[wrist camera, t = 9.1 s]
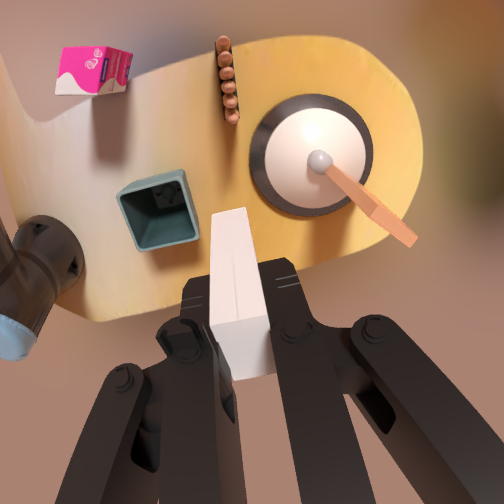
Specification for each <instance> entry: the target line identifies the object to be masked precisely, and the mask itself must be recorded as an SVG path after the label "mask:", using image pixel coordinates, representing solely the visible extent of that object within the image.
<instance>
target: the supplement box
mask: <svg viewBox="0 0 504 504" xmlns="http://www.w3.org/2000/svg"><path fill="white" fill-rule="evenodd" d="M132 56H133V54H132V53H128V52H125V51H121V50H118V49H114V48H111V47H107V46H85V47H84V46H81V47H64V48H63V49H62V54H61V59H60V64H59V69H58V76H57V83H56V90H55V95H56V96H64V95H65V96H67V95H103V94H109V93H116V92H125V91H126V86H127V79H128V74H129V69H130V65H131V60H132Z"/></svg>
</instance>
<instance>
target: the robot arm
mask: <svg viewBox="0 0 504 504" xmlns="http://www.w3.org/2000/svg"><path fill="white" fill-rule="evenodd" d="M83 265H84V257H83V252H82V249H81V246H80V244H79V242H78V240H77V238H76V237H75V235H74V234H73V233H72V231H71V230H70V229H69V228H68V227H67V226H66V225H64V224H63V223H62V222H60V221H59V220H57V219H55V218H53V217H50V216H45V215H37V216H33V217H31V218H29V219H28V220H26V221H25V222H24V223H23V224H22V225H21V226H20V228H19V229H18V230H17V232H16V234H15V237H14V240H13V243H11V241H10V239H9V237H8V234H7V232H6V230H5V227H4V225H3V223H2V220H1V218H0V358H1V359H4V360H8V361H21V360H23V359H25V358H26V357H27V356H28V354H29V352H30V350H31V348H32V347H33V345H34V344H35V343H36V341H37V337H38V335H39V333H40V331H41V328H42V326H43V324H44V322H45V320H46V318H47V316H48V314H49V312H50V310H51V308H52V306H53V304H54V302H55V300H56V298H58V297H59V296H60V295H62V294H63V293H64V292H65V291H67V290H68V289H69V288H71V287H72V286H73V285H74V284H75V283H76V281H77V280H78V278H79V276H80V274H81V272H82V270H83ZM156 339H157V341H158V343H159V344H160V346H161V347H162V349H163V351H164V352H165V354H166V355H167V358H166V359H165V360H163V361H161V362H160V363H158V364H155V365H153V366H151V367H148V368H146V369H143V370H141V368H140V367H139V366H137V365H135V364H132V363H126V364H122V365H119V366H117V367H115V368H114V369H113V370H112V371H110V373H109V374H108V375H107V377H106V379H105V381H104V383H103V385H102V387H101V390H100V391H99V394H98V396H97V398H96V400H95V403H94V405H93V407H92V409H91V412H90V414H89V416H88V418H87V421H86V423H85V425H84V428H83V430H82V433H81V435H80V437H79V440H78V442H77V445H76V448H75V450H74V452H73V455H72V457H71V460H70V463H69V465H68V468H67V471H66V473H65V476H64V479H63V481H62V484H61V487H60V490H59V493H58V496H57V499H56V502H55V504H157V502H158V499H159V504H247V497H246V488H245V480H244V471H243V462H242V453H241V443H240V433H239V422H238V412H237V401H236V394H235V391H234V389H233V387H232V380H231V375H232V377H233V379H234V380H242V379H247V378H253V377H258V376H263V375H268V374H273V373H277V375H278V381H279V386H280V392H281V397H282V402H283V407H284V413H285V418H286V423H287V428H288V434H289V439H290V444H291V449H292V455H293V460H294V465H295V471H296V476H297V481H298V486H299V492H300V497H301V502H302V504H376V501H375V498H374V494H373V491H372V487H371V484H370V480H369V477H368V473H367V470H366V466H365V463H364V460H363V456H362V453H361V450H360V447H359V443H358V440H357V437H356V434H355V431H354V427H353V424H352V421H351V418H350V415H349V412H348V409H347V405H346V402H345V399H344V396H343V394H349V396H350V397H351V398H352V400H353V401H354V403H355V404H356V406H357V407H358V409H359V410H360V411H361V413H362V414H363V416H364V417H365V419H366V420H367V422H368V423H369V424H370V426H371V427H372V429H373V430H374V432H375V433H376V435H377V436H378V437H379V439H380V440H381V441H382V443H383V445H384V446H385V448H386V449H387V450H388V452H389V453H390V455H391V456H392V457H393V459H394V461H395V462H396V463H397V465H398V466H399V468H400V469H401V471H402V472H403V474H404V475H405V476H406V478H407V479H408V481H409V482H410V484H411V485H412V486H413V488H414V489H415V491H416V492H417V494H418V495H419V497H420V498H421V500H422V501H423V502H424V504H504V443H503V442H502V441H501V439H500V438H499V437H498V435H497V434H496V433H495V432H494V431H493V429H492V428H491V427H490V426H489V424H488V423H487V422H486V421H485V420H484V419H483V417H482V416H481V415H480V414H479V413H478V411H477V410H476V409H475V408H474V407H473V406H472V405H471V403H470V402H469V401H468V400H467V399H466V398H465V397H464V396H463V394H462V393H461V392H460V391H459V390H458V389H457V388H456V386H455V385H454V384H453V383H452V382H451V381H450V380H449V379H448V378H447V376H446V375H445V374H444V373H443V372H442V371H441V370H440V369H439V368H438V367H437V366H436V364H434V362H433V361H432V360H431V359H430V358H429V357H428V356H427V355H426V354H425V353H424V352H423V351H422V350H421V348H419V346H418V345H417V344H416V343H415V342H414V341H413V340H412V339H411V338H410V337H409V336H408V335H407V334H406V333H405V332H404V331H403V330H402V329H401V328H400V327H399V326H398V325H397V324H396V323H395V322H394V321H393V320H391V319H390V318H389V317H386V316H382V315H368V316H365V317H361V318H360V319H359V320H358V321H356V322H355V323H354V325H353V327H352V328H335V327H329V326H325V325H323V324H321V323H319V322H318V321H317V320H316V319H315V318H314V317H313V316H312V314H311V312H310V309H309V306H308V303H307V300H306V298H305V295H304V292H303V289H302V287H301V284H300V281H299V278H298V276H297V273H296V270H295V268H294V265H293V264H292V263H291V262H290V261H289V260H287V259H286V258H285V257H283V258H279V259H274V260H270V261H265V262H261V263H258V261H257V256H256V251H255V247H254V243H253V238H252V234H251V229H250V225H249V220H248V216H247V211H246V207H242V208H238V209H233V210H229V211H224V212H220V213H216V214H212V224H211V257H210V275H205V276H200V277H195V278H191V279H189V280H188V282H187V283H186V285H185V287H184V288H183V293H182V301H181V310H180V316H178V317H175V318H172V319H170V320H169V321H167V322H166V323H164V324H163V325H162V326H161V327H160V329H159V330H158V332H157V334H156Z"/></svg>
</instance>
